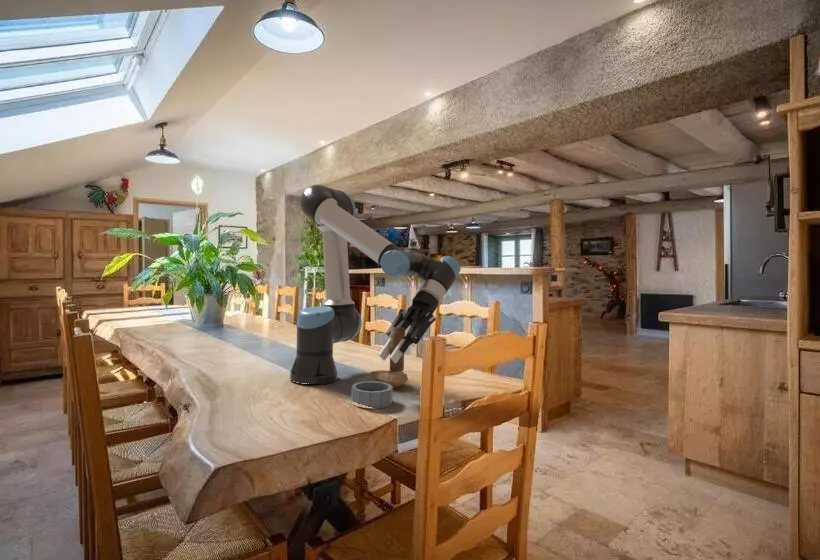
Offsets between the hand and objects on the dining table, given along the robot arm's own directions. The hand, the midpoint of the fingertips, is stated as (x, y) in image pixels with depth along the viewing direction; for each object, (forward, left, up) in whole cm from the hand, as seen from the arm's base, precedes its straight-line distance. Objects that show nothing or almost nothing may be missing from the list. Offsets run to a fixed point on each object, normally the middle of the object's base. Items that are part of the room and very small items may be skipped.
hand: (387, 358), depth 121 cm
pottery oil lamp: (-4, +16, -12) cm, 21 cm away
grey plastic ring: (-3, -3, -12) cm, 13 cm away
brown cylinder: (+2, +3, -4) cm, 5 cm away
